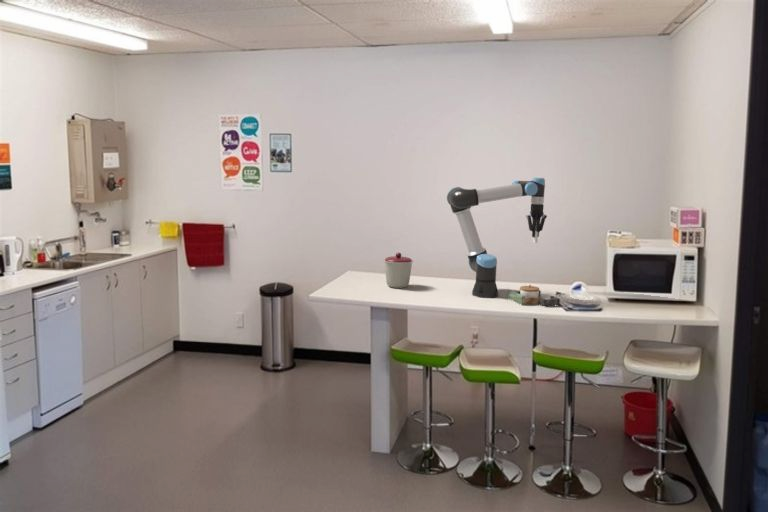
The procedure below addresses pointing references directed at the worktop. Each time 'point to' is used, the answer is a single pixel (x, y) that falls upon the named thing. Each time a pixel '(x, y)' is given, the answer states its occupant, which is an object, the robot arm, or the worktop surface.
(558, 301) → the trap box
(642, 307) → the worktop surface
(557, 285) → the worktop surface
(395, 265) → the canister
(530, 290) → the lidded jar
